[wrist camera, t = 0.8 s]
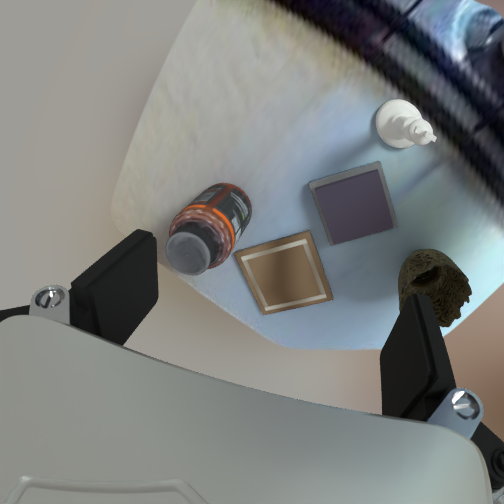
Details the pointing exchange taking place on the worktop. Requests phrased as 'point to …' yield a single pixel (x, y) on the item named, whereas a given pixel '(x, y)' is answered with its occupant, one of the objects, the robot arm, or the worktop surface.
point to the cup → (435, 283)
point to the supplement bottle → (208, 229)
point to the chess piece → (402, 125)
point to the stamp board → (285, 273)
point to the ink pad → (354, 203)
